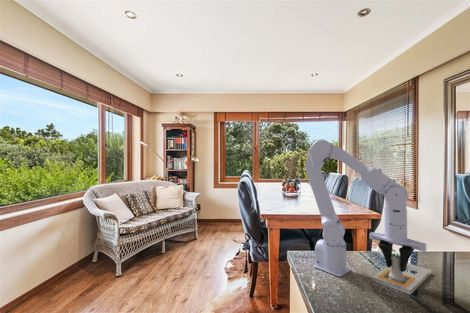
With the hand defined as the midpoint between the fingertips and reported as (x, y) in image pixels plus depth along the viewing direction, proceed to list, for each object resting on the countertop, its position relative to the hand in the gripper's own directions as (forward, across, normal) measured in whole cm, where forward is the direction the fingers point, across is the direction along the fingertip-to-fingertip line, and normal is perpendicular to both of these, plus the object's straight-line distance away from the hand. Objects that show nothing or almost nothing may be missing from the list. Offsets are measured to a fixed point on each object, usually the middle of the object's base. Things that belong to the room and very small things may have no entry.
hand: (396, 268), depth 73 cm
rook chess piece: (+4, 0, 0) cm, 4 cm away
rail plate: (+4, 0, -5) cm, 6 cm away
